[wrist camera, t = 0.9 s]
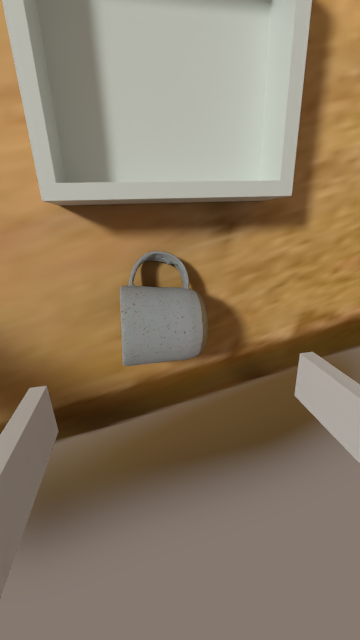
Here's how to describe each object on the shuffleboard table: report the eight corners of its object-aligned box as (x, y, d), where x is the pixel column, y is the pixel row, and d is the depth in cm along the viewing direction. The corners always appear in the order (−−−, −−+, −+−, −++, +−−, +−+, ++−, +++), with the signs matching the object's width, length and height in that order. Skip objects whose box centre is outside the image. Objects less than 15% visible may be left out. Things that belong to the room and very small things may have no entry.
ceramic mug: (191, 341, 31) (210, 374, 24) (122, 345, 30) (120, 381, 23) (194, 250, 28) (217, 257, 21) (116, 250, 27) (111, 257, 19)
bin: (58, 205, 24) (42, 200, 20) (9, -68, 18) (-32, -168, 13) (264, 200, 27) (291, 195, 23) (280, -33, 21) (322, -105, 17)
